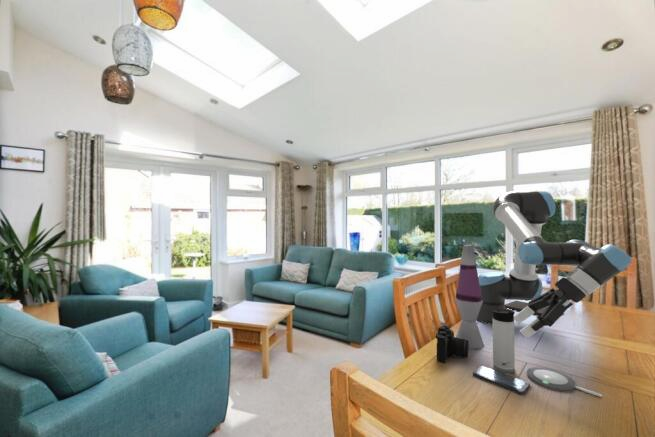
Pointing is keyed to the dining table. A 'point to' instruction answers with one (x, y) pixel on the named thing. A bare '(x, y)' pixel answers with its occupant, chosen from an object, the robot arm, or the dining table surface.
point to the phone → (502, 380)
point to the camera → (450, 345)
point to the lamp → (469, 298)
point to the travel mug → (503, 340)
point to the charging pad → (554, 380)
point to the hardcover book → (522, 307)
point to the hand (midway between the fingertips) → (519, 327)
